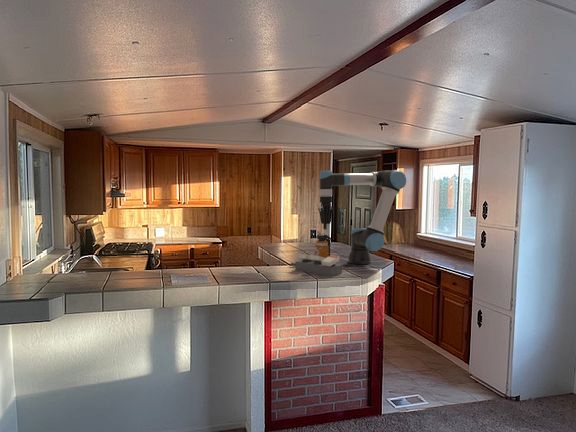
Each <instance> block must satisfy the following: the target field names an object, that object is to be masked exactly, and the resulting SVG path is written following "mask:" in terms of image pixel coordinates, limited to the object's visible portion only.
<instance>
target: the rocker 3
mask: <svg viewBox="0 0 576 432" xmlns="http://www.w3.org/2000/svg"><path fill="white" fill-rule="evenodd" d="M340 260H341V259H340V255H335V254H330V256H329V257H327V258H326V259H324V260H323V261H321V262H322V265H324V266H332V265H333V264H337V263H338V262H339V261H340Z"/></svg>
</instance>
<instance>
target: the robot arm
mask: <svg viewBox="0 0 576 432" xmlns="http://www.w3.org/2000/svg"><path fill="white" fill-rule="evenodd" d="M406 185H407V177H406V175H405V173H404V172H403V171H401V170H398V169H393V170H389V169H388V170H381V171H371V172H369V173H365V172H364V173H363V172H361V173H349V172H348V173H347V172H346V173H343V172H342V173H333V170H320V172H319V195H320V196H319V202H320V207H319V208H317V209H318V212H319V218H320V223H321V225H322V224H323V226H322V227H323V235H324V234H325V235H327V236H329V233H330V229H329V228H330V225H331V223H332V221H333V220H332V219H333V211H334V208H335V207H334V206H332V203H333V187H340V186H341V187H344V186H370V187H377V188H381V190H382V191H381V194H380V196H379V200H378V202H377V205H376V208H375V211H374V213H373V217H372V220H371V221H370V225H368V226H366V227H365V228H364V227H363V228H352V229H351V233H350V237H351V238H350V240H351V241H350V253H349V255H348V259H347V260H348V261H347V263H349V264H353V265H369V264H371V263H372V257H371V255H370V252H369V251H371V252H372V251H373V252H377V251H380V250H381V249H382V248H383V247H384V245H385V237H384V236H385V232H384V228H385V225H386V222H387V219H388V216H389V214H390V211H391V209H392V205H393V203H394V200H395V198H396V195H398V194H400V191H401V189H403V188H405V186H406Z"/></svg>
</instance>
